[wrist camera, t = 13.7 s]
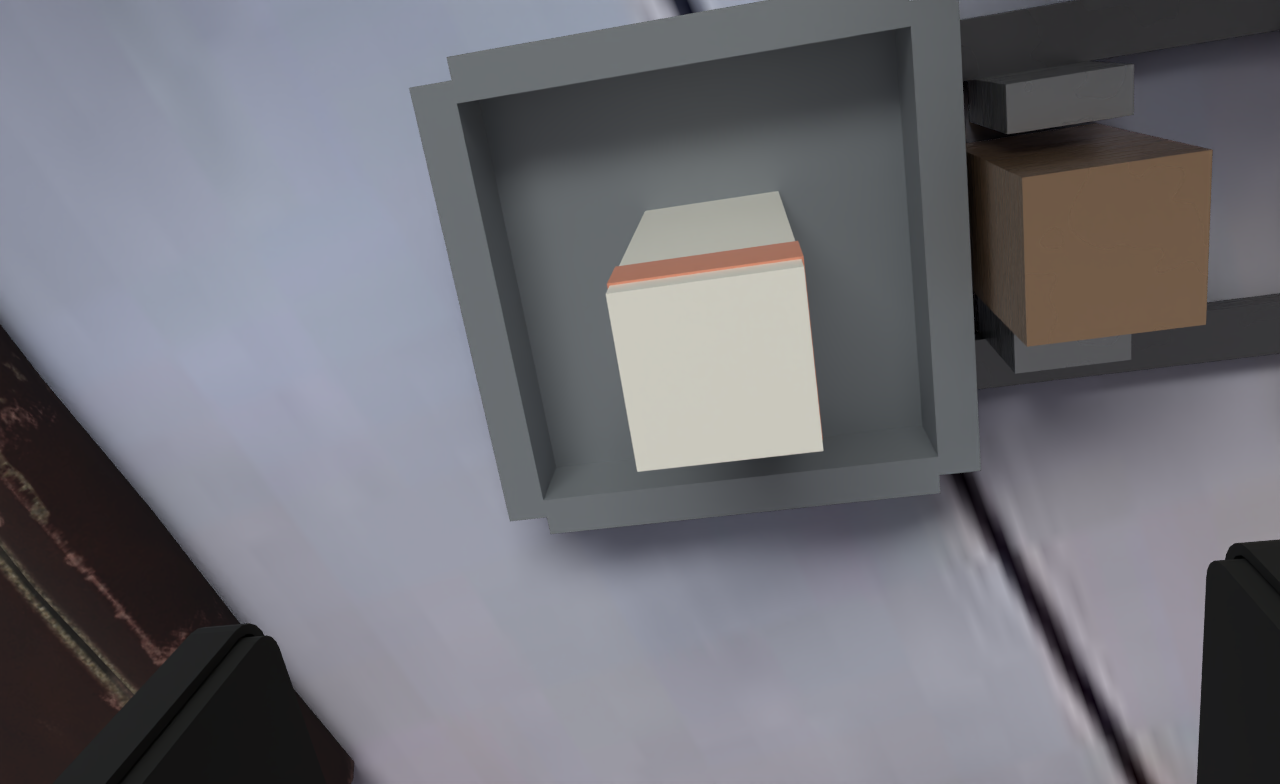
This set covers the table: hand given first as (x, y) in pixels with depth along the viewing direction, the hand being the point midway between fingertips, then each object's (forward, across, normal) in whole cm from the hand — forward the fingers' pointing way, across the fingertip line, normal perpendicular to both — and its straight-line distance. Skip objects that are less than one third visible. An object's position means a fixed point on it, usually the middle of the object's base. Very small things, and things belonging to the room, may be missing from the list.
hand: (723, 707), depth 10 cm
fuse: (+21, +1, 0) cm, 21 cm away
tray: (+21, +1, 0) cm, 21 cm away
